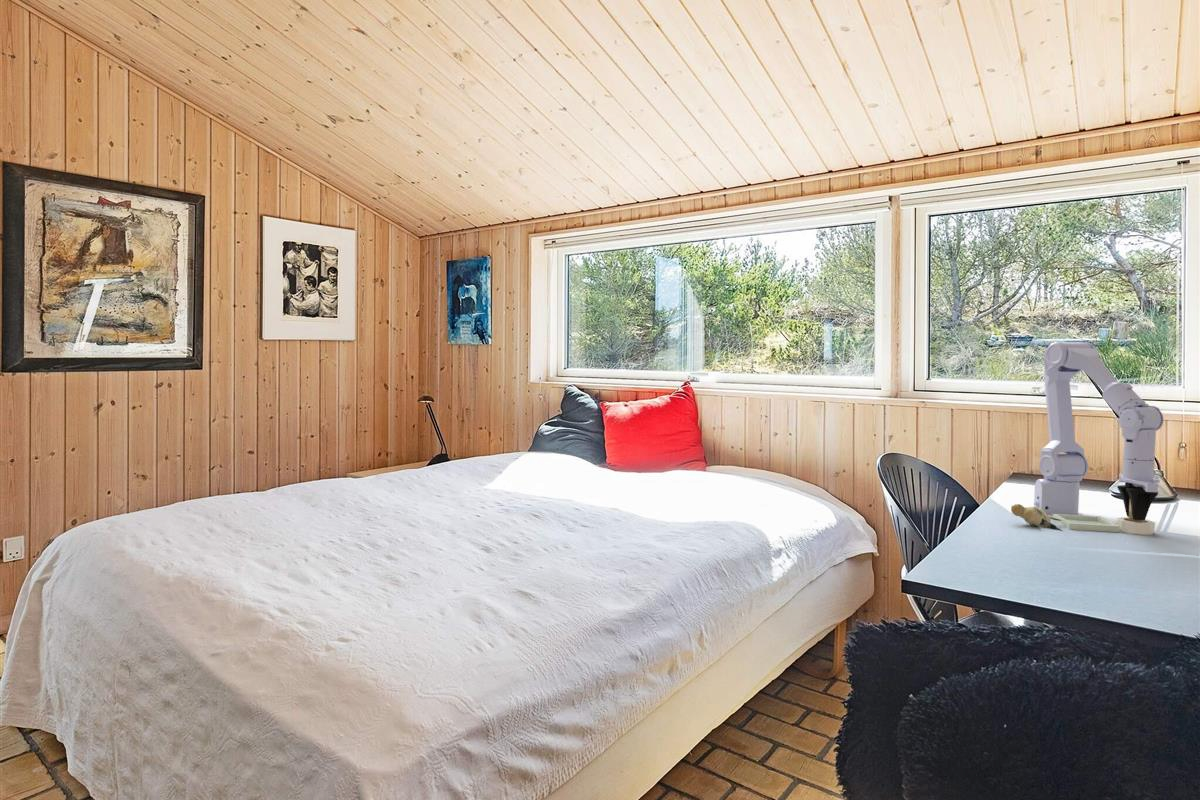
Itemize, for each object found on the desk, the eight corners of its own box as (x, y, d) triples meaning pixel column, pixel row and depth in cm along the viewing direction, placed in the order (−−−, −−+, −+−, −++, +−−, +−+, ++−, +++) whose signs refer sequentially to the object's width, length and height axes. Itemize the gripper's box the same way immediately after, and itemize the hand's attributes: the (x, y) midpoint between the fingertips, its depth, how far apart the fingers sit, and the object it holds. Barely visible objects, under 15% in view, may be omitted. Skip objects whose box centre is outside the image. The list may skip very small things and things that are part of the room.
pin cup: (1125, 535, 164) (1125, 522, 164) (1113, 529, 171) (1113, 516, 170) (1158, 537, 163) (1158, 524, 163) (1144, 531, 169) (1145, 518, 169)
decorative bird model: (1051, 508, 178) (1010, 496, 178) (1079, 528, 165) (1036, 515, 165) (1044, 524, 178) (1004, 512, 179) (1072, 545, 166) (1029, 532, 166)
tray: (1068, 531, 168) (1069, 523, 168) (1052, 521, 179) (1053, 513, 179) (1118, 534, 166) (1119, 526, 166) (1099, 523, 176) (1099, 516, 176)
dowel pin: (1131, 531, 166) (1133, 492, 165) (1126, 529, 168) (1128, 490, 168) (1144, 532, 165) (1146, 493, 165) (1139, 530, 168) (1141, 491, 167)
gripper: (1175, 464, 158) (1172, 526, 158) (1144, 456, 172) (1141, 513, 172) (1137, 462, 160) (1134, 524, 160) (1110, 454, 174) (1107, 511, 174)
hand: (1135, 518), depth 166 cm, fingers closed on dowel pin, 3 cm apart
